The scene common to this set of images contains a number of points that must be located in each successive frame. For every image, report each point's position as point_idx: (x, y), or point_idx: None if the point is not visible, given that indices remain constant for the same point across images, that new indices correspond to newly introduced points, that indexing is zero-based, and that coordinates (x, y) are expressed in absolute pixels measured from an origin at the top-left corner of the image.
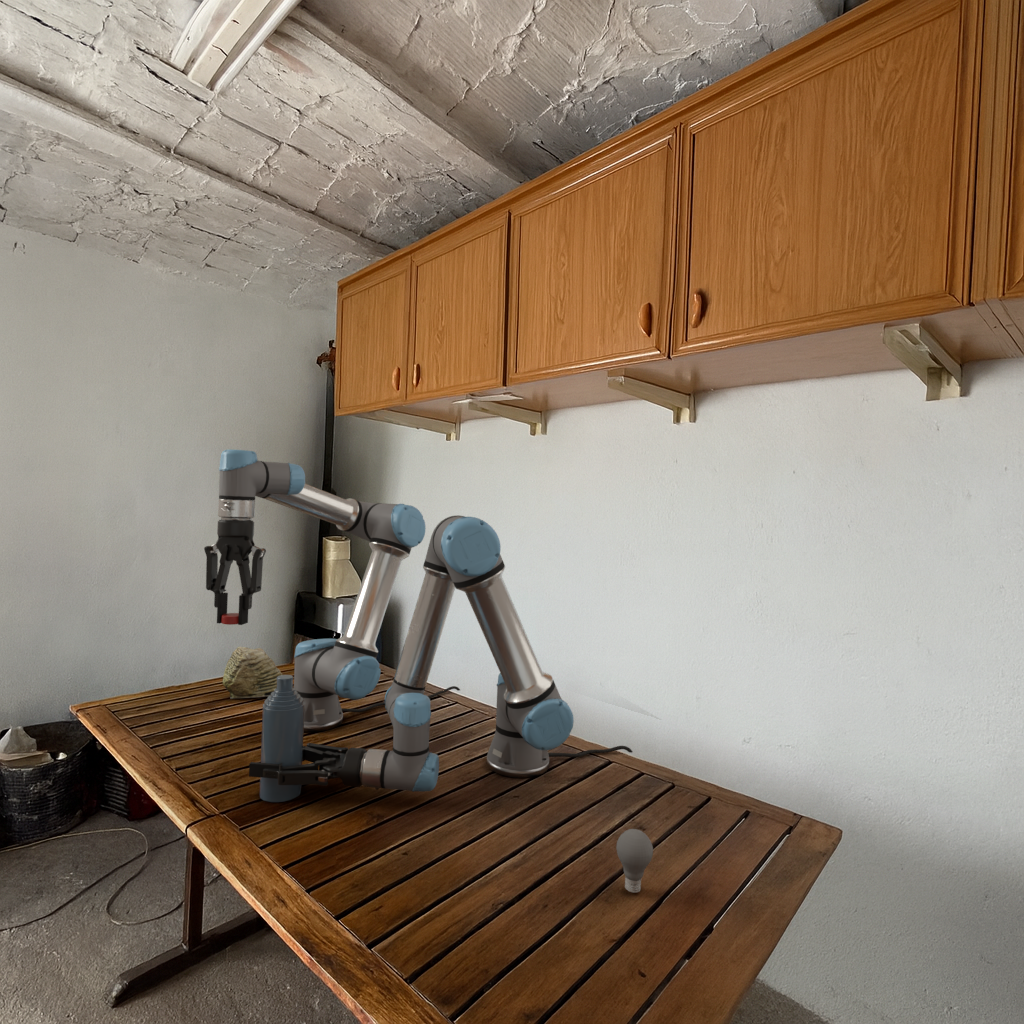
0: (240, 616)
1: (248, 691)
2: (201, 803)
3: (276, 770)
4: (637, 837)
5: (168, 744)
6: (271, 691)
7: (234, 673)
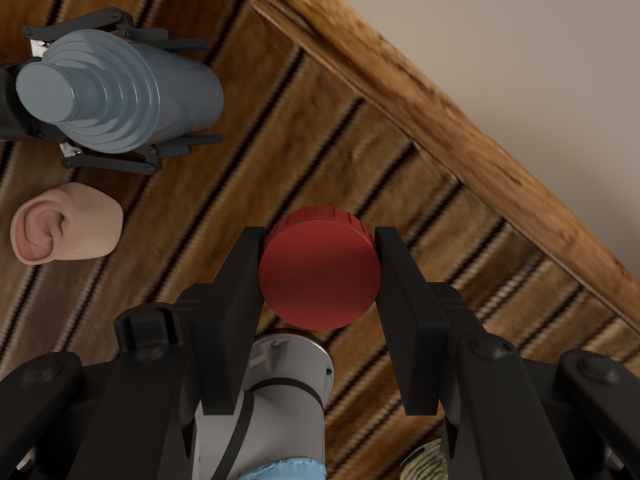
0: (242, 243)
1: None
2: (296, 26)
3: (138, 32)
4: None
5: (482, 238)
6: (416, 457)
7: None
